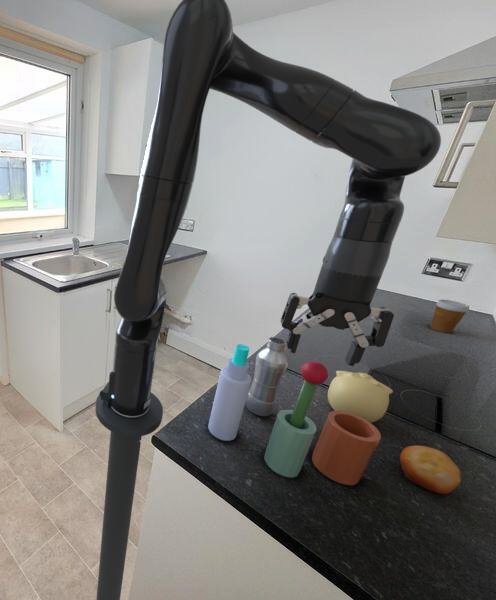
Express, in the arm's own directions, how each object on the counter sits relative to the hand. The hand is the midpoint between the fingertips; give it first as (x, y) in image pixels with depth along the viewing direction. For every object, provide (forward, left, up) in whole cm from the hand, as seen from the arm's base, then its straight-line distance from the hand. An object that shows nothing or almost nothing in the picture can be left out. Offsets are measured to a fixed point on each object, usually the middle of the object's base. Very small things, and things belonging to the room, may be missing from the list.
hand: (319, 357), depth 54 cm
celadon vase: (0, 0, -25) cm, 25 cm away
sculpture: (+18, +26, -25) cm, 41 cm away
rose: (0, 0, -24) cm, 24 cm away
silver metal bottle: (-4, +16, -25) cm, 30 cm away
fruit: (+25, +8, -26) cm, 37 cm away
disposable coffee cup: (+70, +109, -25) cm, 132 cm away
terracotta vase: (+10, +4, -25) cm, 27 cm away
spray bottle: (-12, +4, -25) cm, 28 cm away
